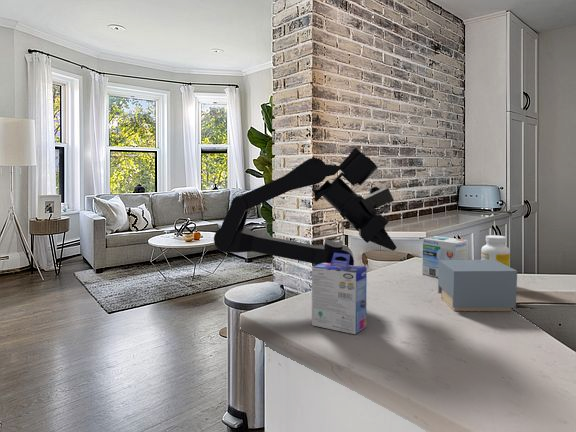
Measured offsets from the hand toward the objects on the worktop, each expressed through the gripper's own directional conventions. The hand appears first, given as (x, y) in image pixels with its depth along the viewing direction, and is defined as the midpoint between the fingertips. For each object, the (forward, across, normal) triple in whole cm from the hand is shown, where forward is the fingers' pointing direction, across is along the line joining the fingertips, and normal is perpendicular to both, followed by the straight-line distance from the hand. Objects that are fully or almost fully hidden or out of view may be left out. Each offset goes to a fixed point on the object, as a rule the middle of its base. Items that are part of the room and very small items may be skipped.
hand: (394, 248), depth 93 cm
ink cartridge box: (0, -13, +19) cm, 23 cm away
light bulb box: (+23, +25, -4) cm, 34 cm away
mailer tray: (+22, 0, -4) cm, 22 cm away
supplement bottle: (+30, +16, -11) cm, 35 cm away
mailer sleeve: (+22, 0, -4) cm, 22 cm away
